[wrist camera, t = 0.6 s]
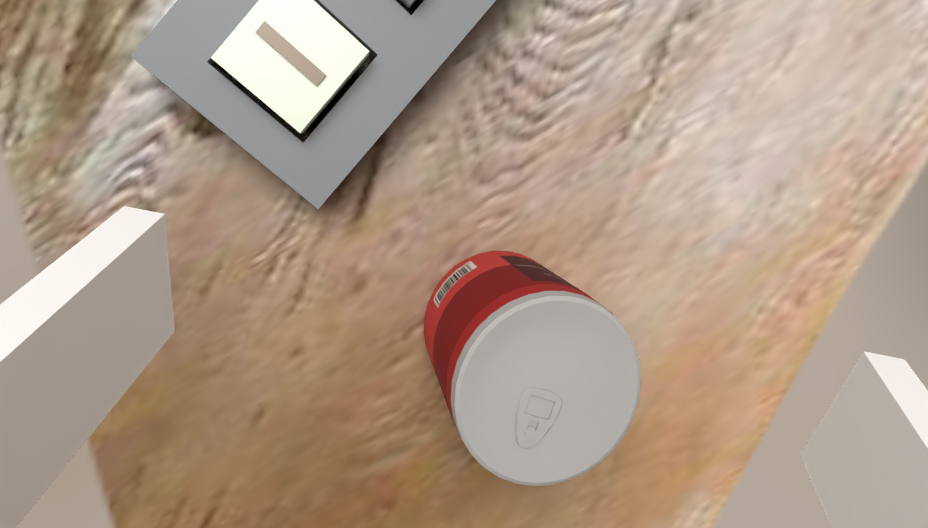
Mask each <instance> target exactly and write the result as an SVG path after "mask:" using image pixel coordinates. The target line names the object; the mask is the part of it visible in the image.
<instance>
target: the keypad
mask: <svg viewBox="0 0 928 528" xmlns="http://www.w3.org/2000/svg"><path fill="white" fill-rule="evenodd" d="M258 1H259V0H177V2H176V3H175V4H174V5H173V6H172V8H171V9H170V10H169V11H168V12H167V14H166V15H165V16H164V17H163V18H162V20H161V21H160V22H159V23H158V24H157V26H156V27H155V28H154V29H153V30H152V32H151V33H150V34H149V35H148V36H147V38H146V39H145V40H144V41H143V42H142V44H141V45H140V46H139V47H138V48H137V50H136V51H135V52H134V53H133V54H132V56H131V57H132V58H133V59H135V60H136V61H137V62H138V63H139V64H141V65H142V66H143V67H144V68H146V69H147V70H148V71H149V72H150V73H152V74H153V75H154V76H155V77H157V78H158V79H159V80H160V81H161V82H163V83H164V84H165V85H166V86H168V87H169V88H170V89H171V90H172V91H174V92H175V93H176V94H177V95H179V96H180V97H181V98H182V99H184V100H185V101H186V102H187V103H188V104H190V105H191V106H192V107H193V108H195V109H196V110H197V111H198V112H199V113H201V114H202V115H203V116H204V117H206V118H207V119H208V120H209V121H210V122H212V123H213V124H214V125H215V126H217V127H218V128H219V129H220V130H221V131H223V132H224V133H225V134H226V135H228V136H229V137H230V138H231V139H233V140H234V141H235V142H236V143H237V144H239V145H240V146H241V147H242V148H244V149H245V150H246V151H247V152H248V153H250V154H251V155H252V156H253V157H255V158H256V159H257V160H258V161H259V162H261V163H262V164H263V165H264V166H266V167H267V168H268V169H269V170H270V171H272V172H273V173H274V174H275V175H277V176H278V177H279V178H280V179H281V180H283V181H284V182H285V183H286V184H288V185H289V186H290V187H291V188H293V189H294V190H295V191H296V192H297V193H299V194H300V195H301V196H302V197H304V198H305V199H306V200H307V201H308V202H310V203H311V204H312V205H313V206H315V207H316V208H317V209H319V208H320V207H321V205H322V204H323V203H324V202H325V201H326V200H327V198H328V197H329V196H330V195H331V194H332V192H333V191H334V190H335V189H336V188H337V187H338V185H339V184H340V183H341V182H342V181H343V180H344V178H345V177H346V176H347V175H348V174H349V172H350V171H351V170H352V169H353V168H354V167H355V165H356V164H357V163H358V162H359V161H360V160H361V158H362V157H363V156H364V155H365V154H366V153H367V151H368V150H369V149H370V148H371V147H372V145H373V144H374V143H375V142H376V141H377V140H378V138H379V137H380V136H381V135H382V134H383V133H384V131H385V130H386V129H387V128H388V127H389V126H390V124H391V123H392V122H393V121H394V120H395V118H396V117H397V116H398V115H399V114H400V113H401V111H402V110H403V109H404V108H405V107H406V106H407V104H408V103H409V102H410V101H411V100H412V98H413V97H414V96H415V95H416V94H417V93H418V91H419V90H420V89H421V88H422V87H423V86H424V84H425V83H426V82H427V81H428V80H429V79H430V77H431V76H432V75H433V74H434V73H435V71H436V70H437V69H438V68H439V67H440V66H441V64H442V63H443V62H444V61H445V60H446V59H447V57H448V56H449V55H450V54H451V53H452V51H453V50H454V49H455V48H456V47H457V46H458V44H459V43H460V42H461V41H462V40H463V39H464V37H465V36H466V35H467V34H468V33H469V32H470V30H471V29H472V28H473V27H474V26H475V24H476V23H477V22H478V21H479V20H480V19H481V17H482V16H483V15H484V14H485V13H486V12H487V10H488V9H489V8H490V7H491V6H492V4H493V3H494V2H495V1H496V0H424V1H423V2H422V3H421V4H420V6H419V7H418V8H417V9H416V10H415V12H414V13H413V14H412V15H410V14H409V13H408V12H407V11H406V10H405V9H404V8H403V7H402V6H401V5H400V4H399V3H398V2H397V1H396V0H314V1H315V2H316V3H317V4H318V5H320V6H321V7H322V8H323V9H324V10H325V11H326V12H327V13H328V14H329V15H330V16H332V17H333V18H334V19H335V20H336V21H337V22H338V23H339V24H340V25H341V26H343V27H344V28H345V29H346V30H347V31H348V32H349V33H350V34H351V35H352V36H353V37H355V38H356V39H357V40H358V41H359V42H360V43H361V44H362V45H363V46H364V47H365V48H367V49H368V50H369V55H368V57H369V58H371V59H372V60H373V61H372V62H371V63H370V65H369V66H368V67H367V68H366V69H365V71H364V72H363V73H362V74H361V75H360V76H359V78H358V79H357V80H356V81H355V82H354V84H353V85H352V86H351V87H350V88H349V89H348V91H347V92H346V93H345V94H344V95H343V96H342V98H341V99H340V100H339V101H338V102H337V104H336V105H335V106H334V107H333V108H332V109H331V111H330V112H329V113H328V114H327V115H326V117H325V118H324V119H323V120H322V121H321V122H320V124H319V125H318V126H317V127H316V128H315V130H314V131H313V132H312V133H311V134H310V135H309V137H308V138H307V139H306V140H304V139H303V138H301V137H300V136H299V135H298V134H297V133H295V132H294V131H293V130H292V129H291V128H289V127H288V126H287V125H286V124H285V123H284V122H282V121H281V120H280V119H279V118H278V117H276V116H275V115H274V114H273V113H272V112H271V111H269V110H268V109H267V108H266V107H265V106H263V105H262V104H261V103H260V102H259V101H257V100H256V99H255V98H254V97H253V96H252V95H250V94H249V93H248V92H247V91H246V90H244V89H243V88H242V87H241V86H240V85H239V84H237V83H236V82H235V81H234V80H233V79H231V78H230V77H229V76H228V75H227V74H225V73H224V72H223V71H222V70H221V68H222V67H221V66H220V65H219V64H218V63H216V62H215V61H214V60H213V59H212V58H211V57H212V56H213V54H214V53H215V52H216V51H217V50H218V48H219V47H220V46H221V45H222V44H223V42H224V41H225V40H226V39H227V38H228V36H229V35H230V34H231V33H232V32H233V30H234V29H235V28H236V27H237V26H238V24H239V23H240V22H241V21H242V20H243V19H244V17H245V16H246V15H247V14H248V13H249V11H250V10H251V9H252V8H253V7H254V5H255V4H256V3H257V2H258Z"/></svg>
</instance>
